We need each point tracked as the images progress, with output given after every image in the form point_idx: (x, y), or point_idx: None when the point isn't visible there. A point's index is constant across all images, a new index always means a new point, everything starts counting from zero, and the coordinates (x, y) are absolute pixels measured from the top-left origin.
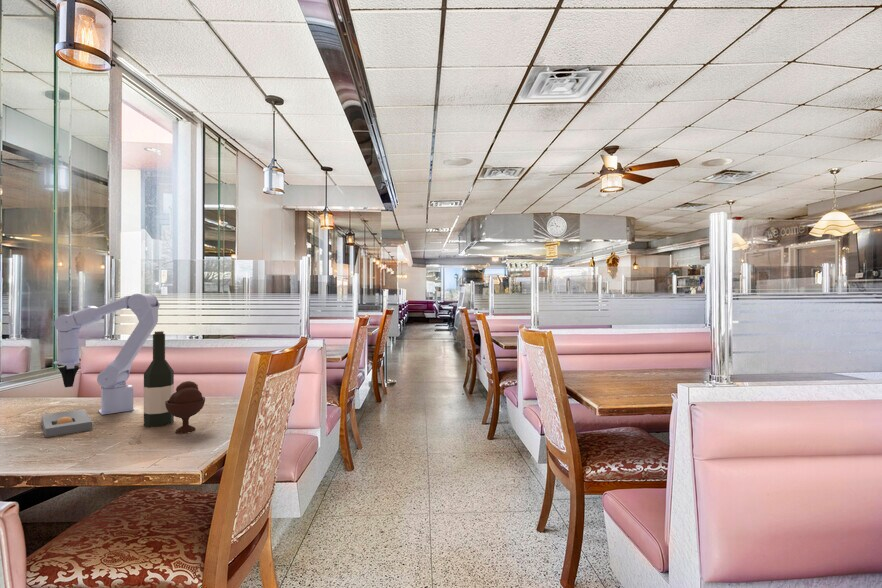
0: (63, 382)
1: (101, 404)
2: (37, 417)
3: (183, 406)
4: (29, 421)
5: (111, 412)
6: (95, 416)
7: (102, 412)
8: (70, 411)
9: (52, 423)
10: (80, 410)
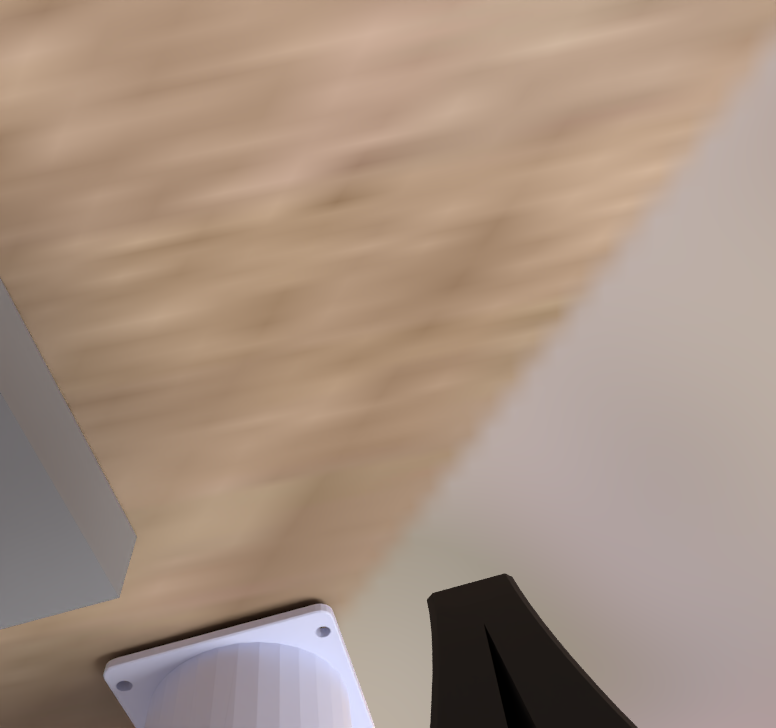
0: (525, 647)
1: (204, 718)
2: (342, 58)
3: None
4: (101, 5)
5: (131, 720)
6: (83, 621)
7: (159, 665)
8: (19, 505)
9: None
10: (39, 585)
